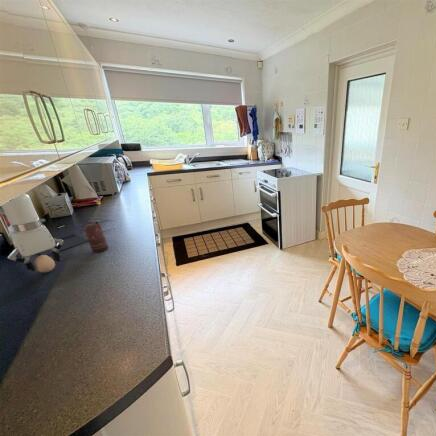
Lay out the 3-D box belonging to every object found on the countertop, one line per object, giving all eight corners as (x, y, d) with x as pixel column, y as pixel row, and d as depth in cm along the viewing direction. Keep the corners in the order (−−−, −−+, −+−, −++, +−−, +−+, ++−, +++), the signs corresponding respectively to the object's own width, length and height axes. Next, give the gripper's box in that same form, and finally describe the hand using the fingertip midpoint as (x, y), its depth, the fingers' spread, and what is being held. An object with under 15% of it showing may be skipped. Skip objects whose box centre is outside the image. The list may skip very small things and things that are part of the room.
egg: (55, 266, 100) (48, 250, 97) (59, 270, 97) (52, 254, 94) (36, 272, 95) (29, 256, 93) (40, 277, 92) (32, 261, 90)
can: (110, 245, 117) (102, 220, 112) (105, 251, 111) (96, 225, 106) (96, 247, 115) (86, 221, 110) (90, 253, 110) (80, 226, 104)
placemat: (44, 256, 107) (44, 256, 107) (29, 249, 113) (29, 248, 113) (89, 240, 122) (89, 240, 122) (74, 235, 129) (73, 234, 128)
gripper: (51, 216, 97) (66, 253, 104) (-12, 232, 83) (10, 274, 89) (60, 219, 94) (75, 257, 101) (-4, 236, 80) (19, 279, 86)
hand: (45, 264), depth 95 cm, fingers open, 7 cm apart
